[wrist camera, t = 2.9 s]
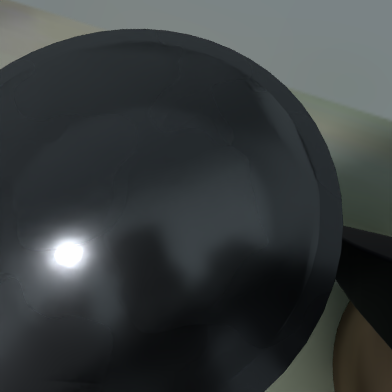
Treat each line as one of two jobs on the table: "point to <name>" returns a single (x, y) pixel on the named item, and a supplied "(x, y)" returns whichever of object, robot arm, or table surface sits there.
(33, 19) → the table surface
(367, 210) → the table surface
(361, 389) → the stand
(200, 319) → the grey metal cylinder
